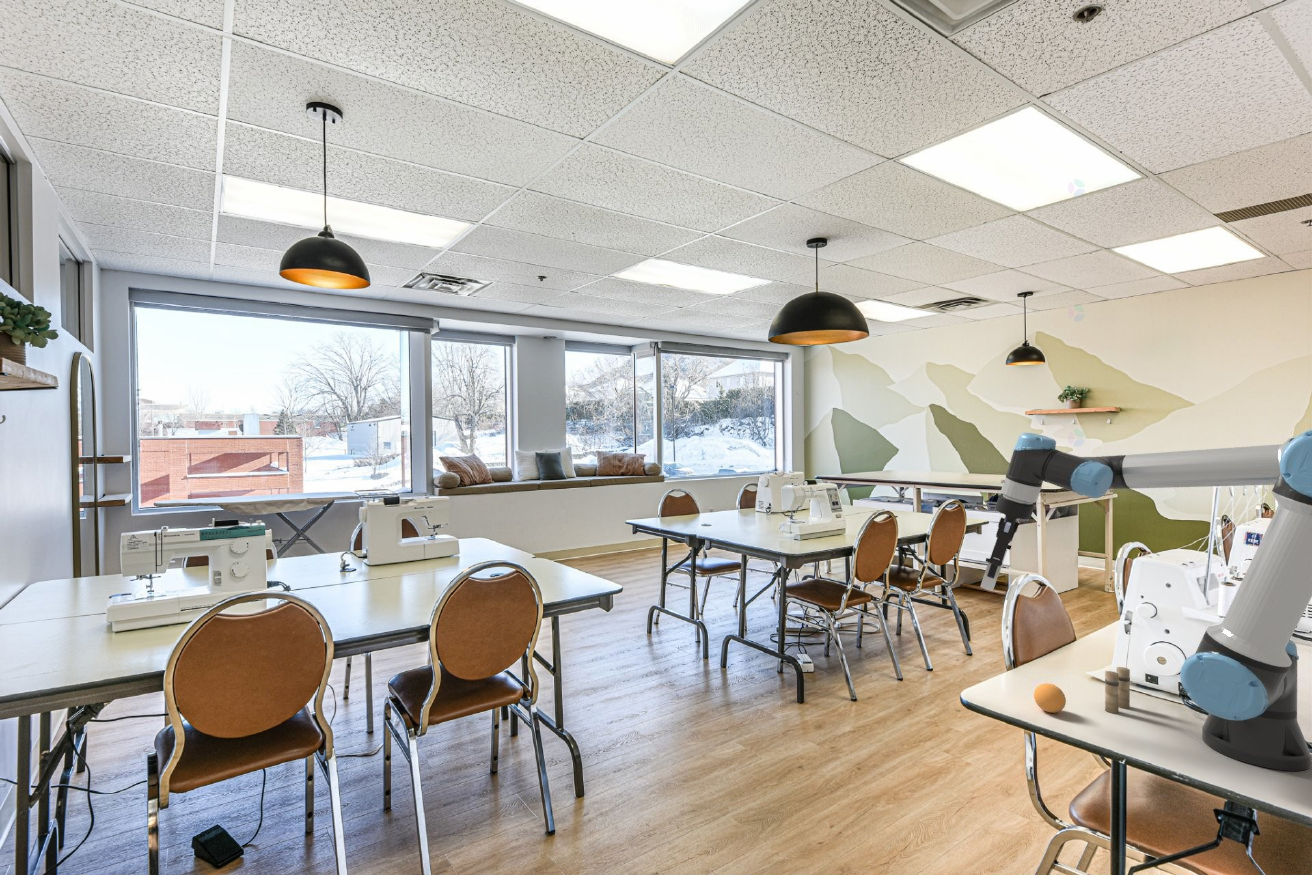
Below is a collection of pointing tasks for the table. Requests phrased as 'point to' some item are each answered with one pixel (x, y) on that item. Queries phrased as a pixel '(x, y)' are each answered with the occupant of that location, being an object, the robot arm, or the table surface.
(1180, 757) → the table surface
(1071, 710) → the table surface
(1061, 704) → the orange egg
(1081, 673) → the table surface
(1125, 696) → the pin
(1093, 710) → the table surface
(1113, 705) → the pin
